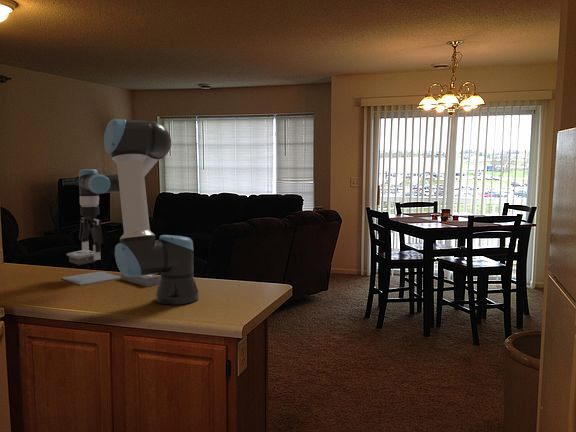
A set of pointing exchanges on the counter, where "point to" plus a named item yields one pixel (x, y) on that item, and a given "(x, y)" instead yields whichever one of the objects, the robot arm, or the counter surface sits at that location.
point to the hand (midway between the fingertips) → (91, 258)
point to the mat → (91, 278)
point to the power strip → (143, 280)
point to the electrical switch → (81, 257)
